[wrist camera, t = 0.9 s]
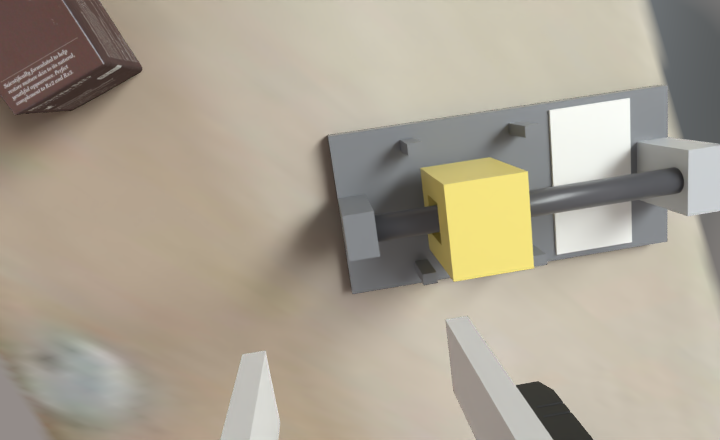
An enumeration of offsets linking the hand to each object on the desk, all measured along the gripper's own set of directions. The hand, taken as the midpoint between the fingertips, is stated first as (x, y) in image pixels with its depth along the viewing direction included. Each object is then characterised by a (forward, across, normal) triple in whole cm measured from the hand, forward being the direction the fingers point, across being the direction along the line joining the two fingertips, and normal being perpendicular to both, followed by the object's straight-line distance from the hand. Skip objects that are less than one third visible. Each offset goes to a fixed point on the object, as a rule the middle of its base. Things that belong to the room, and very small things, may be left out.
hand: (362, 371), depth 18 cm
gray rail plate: (+23, +13, 0) cm, 26 cm away
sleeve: (+20, +9, 0) cm, 22 cm away
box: (+23, -15, +14) cm, 31 cm away
